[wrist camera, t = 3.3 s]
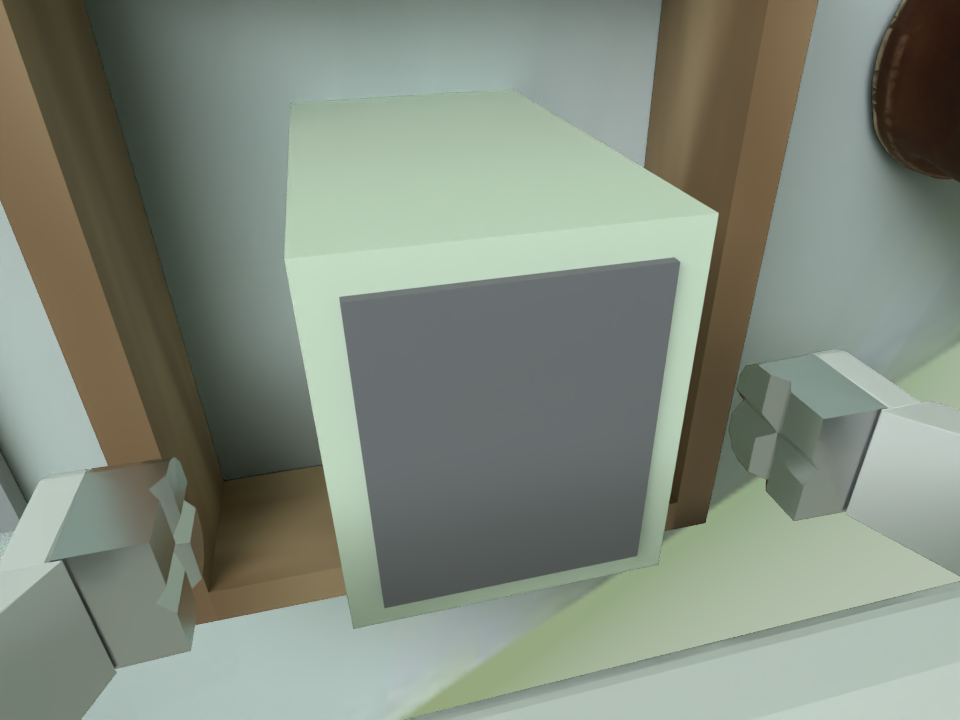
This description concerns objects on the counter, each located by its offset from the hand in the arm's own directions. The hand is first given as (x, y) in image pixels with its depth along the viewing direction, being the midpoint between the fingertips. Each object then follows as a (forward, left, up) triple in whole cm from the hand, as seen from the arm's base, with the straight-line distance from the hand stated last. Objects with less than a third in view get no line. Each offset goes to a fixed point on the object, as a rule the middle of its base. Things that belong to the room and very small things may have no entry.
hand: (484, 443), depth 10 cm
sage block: (0, 0, -8) cm, 8 cm away
